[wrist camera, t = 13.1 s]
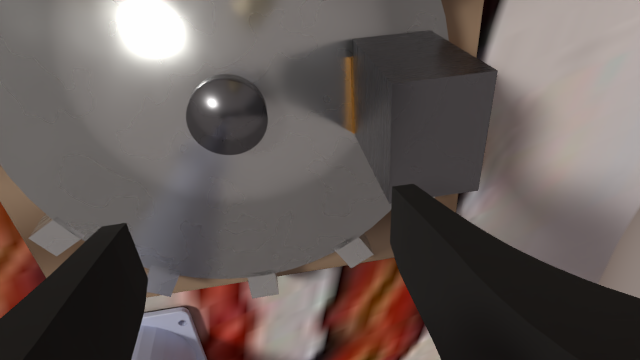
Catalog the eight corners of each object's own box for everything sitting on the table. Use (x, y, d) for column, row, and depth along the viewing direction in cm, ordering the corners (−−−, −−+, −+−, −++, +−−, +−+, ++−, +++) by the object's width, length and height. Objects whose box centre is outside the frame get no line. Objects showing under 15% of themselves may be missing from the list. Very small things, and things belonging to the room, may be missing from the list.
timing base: (444, 237, 25) (451, 249, 25) (72, 296, 24) (65, 311, 23) (505, -276, 14) (523, -290, 13) (-236, -240, 12) (-277, -254, 11)
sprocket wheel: (253, 328, 25) (254, 419, 21) (-175, 112, 15) (-353, 194, 11) (550, 86, 20) (643, 138, 15) (168, -509, 10) (96, -899, 5)
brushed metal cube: (423, 126, 18) (478, 190, 14) (354, 135, 18) (389, 203, 13) (430, 29, 16) (497, 70, 11) (352, 38, 15) (391, 83, 11)
